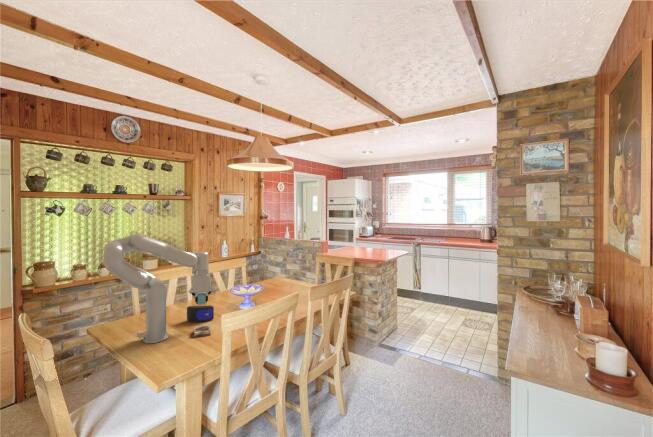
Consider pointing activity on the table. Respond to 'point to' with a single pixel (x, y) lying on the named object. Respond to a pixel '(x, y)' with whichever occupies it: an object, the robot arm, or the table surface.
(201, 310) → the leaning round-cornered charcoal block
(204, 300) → the teal block
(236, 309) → the table surface
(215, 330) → the table surface
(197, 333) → the block cradle
